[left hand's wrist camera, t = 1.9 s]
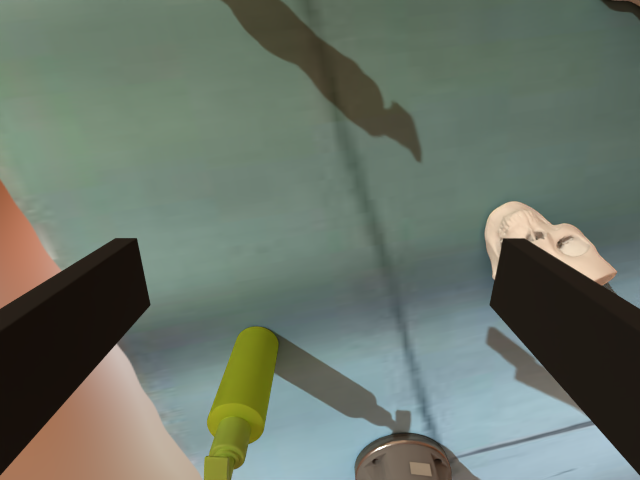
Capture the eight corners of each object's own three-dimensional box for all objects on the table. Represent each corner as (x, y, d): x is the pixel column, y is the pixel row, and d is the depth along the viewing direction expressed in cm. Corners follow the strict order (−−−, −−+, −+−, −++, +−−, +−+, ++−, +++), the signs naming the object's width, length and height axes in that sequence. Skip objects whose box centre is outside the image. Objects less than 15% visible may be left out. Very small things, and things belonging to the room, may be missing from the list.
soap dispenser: (279, 321, 46) (251, 465, 27) (278, 362, 48) (251, 520, 29) (235, 318, 46) (177, 461, 27) (236, 360, 48) (183, 517, 29)
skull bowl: (546, 169, 37) (646, 252, 29) (538, 233, 48) (610, 307, 40) (457, 216, 39) (529, 307, 31) (469, 268, 50) (524, 345, 42)
